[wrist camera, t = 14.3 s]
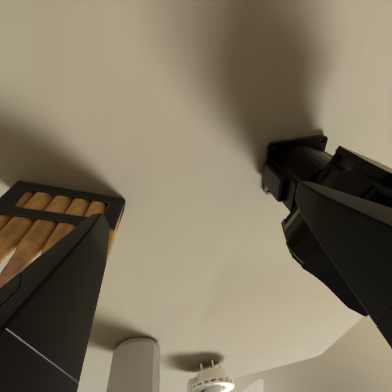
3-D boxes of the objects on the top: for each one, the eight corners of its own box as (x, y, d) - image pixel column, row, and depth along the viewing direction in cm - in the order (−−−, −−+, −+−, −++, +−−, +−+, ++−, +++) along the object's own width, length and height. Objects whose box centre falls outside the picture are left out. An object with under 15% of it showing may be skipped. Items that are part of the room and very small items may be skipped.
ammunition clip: (125, 199, 24) (98, 298, 14) (123, 211, 25) (96, 312, 15) (17, 180, 21) (-112, 287, 11) (20, 195, 22) (-98, 306, 12)
